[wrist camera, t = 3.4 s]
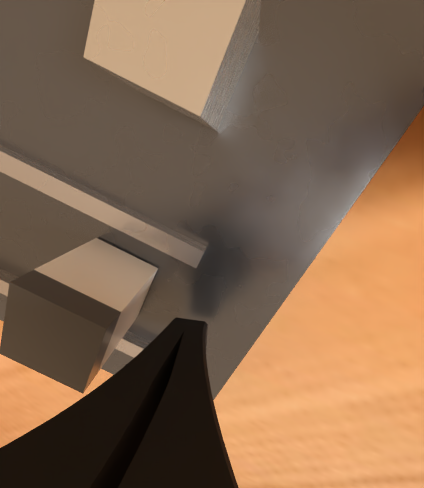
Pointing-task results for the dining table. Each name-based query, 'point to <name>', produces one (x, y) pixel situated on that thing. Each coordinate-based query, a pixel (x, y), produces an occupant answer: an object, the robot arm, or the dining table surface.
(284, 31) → the panel
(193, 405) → the robot arm
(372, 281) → the dining table surface
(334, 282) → the dining table surface
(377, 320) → the dining table surface
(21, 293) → the lever
